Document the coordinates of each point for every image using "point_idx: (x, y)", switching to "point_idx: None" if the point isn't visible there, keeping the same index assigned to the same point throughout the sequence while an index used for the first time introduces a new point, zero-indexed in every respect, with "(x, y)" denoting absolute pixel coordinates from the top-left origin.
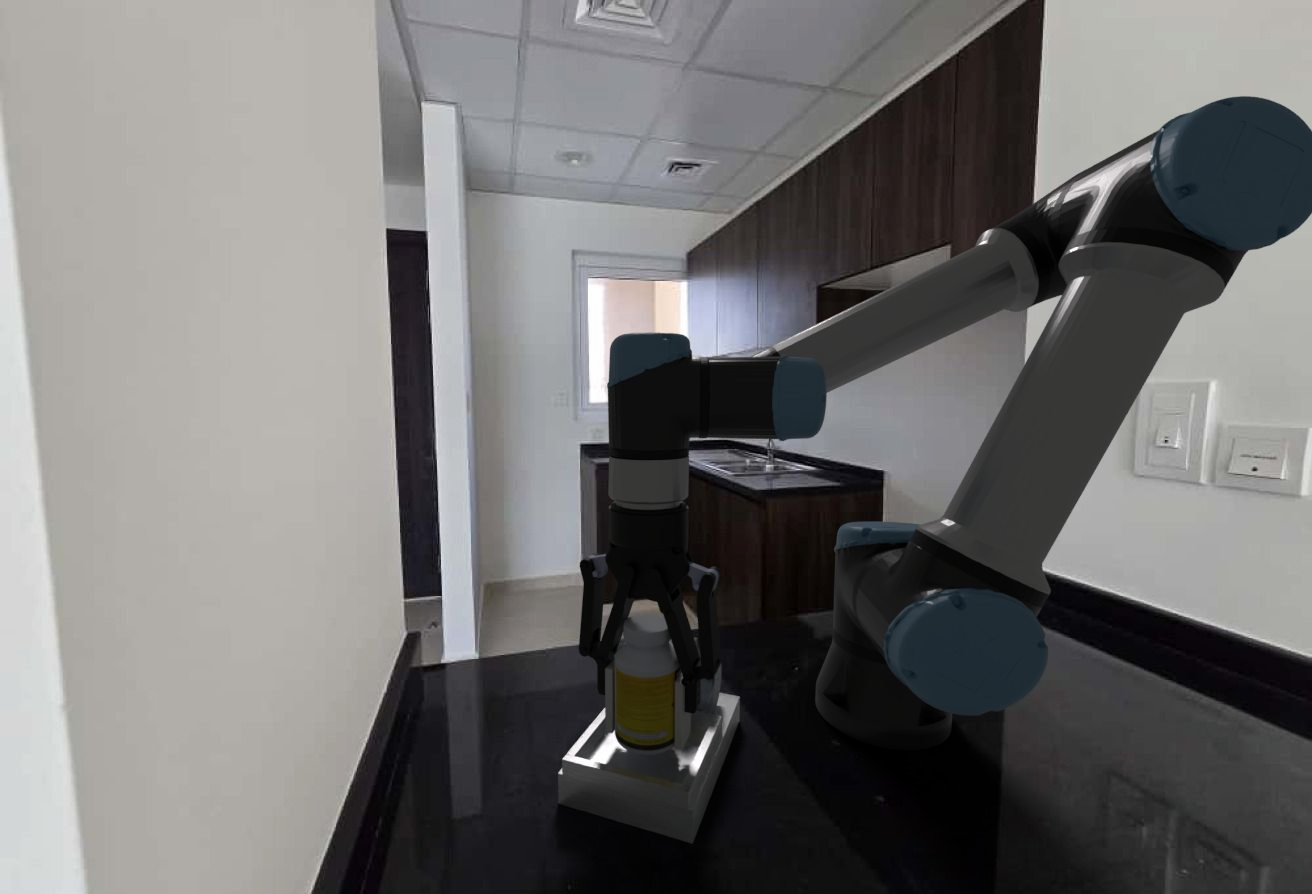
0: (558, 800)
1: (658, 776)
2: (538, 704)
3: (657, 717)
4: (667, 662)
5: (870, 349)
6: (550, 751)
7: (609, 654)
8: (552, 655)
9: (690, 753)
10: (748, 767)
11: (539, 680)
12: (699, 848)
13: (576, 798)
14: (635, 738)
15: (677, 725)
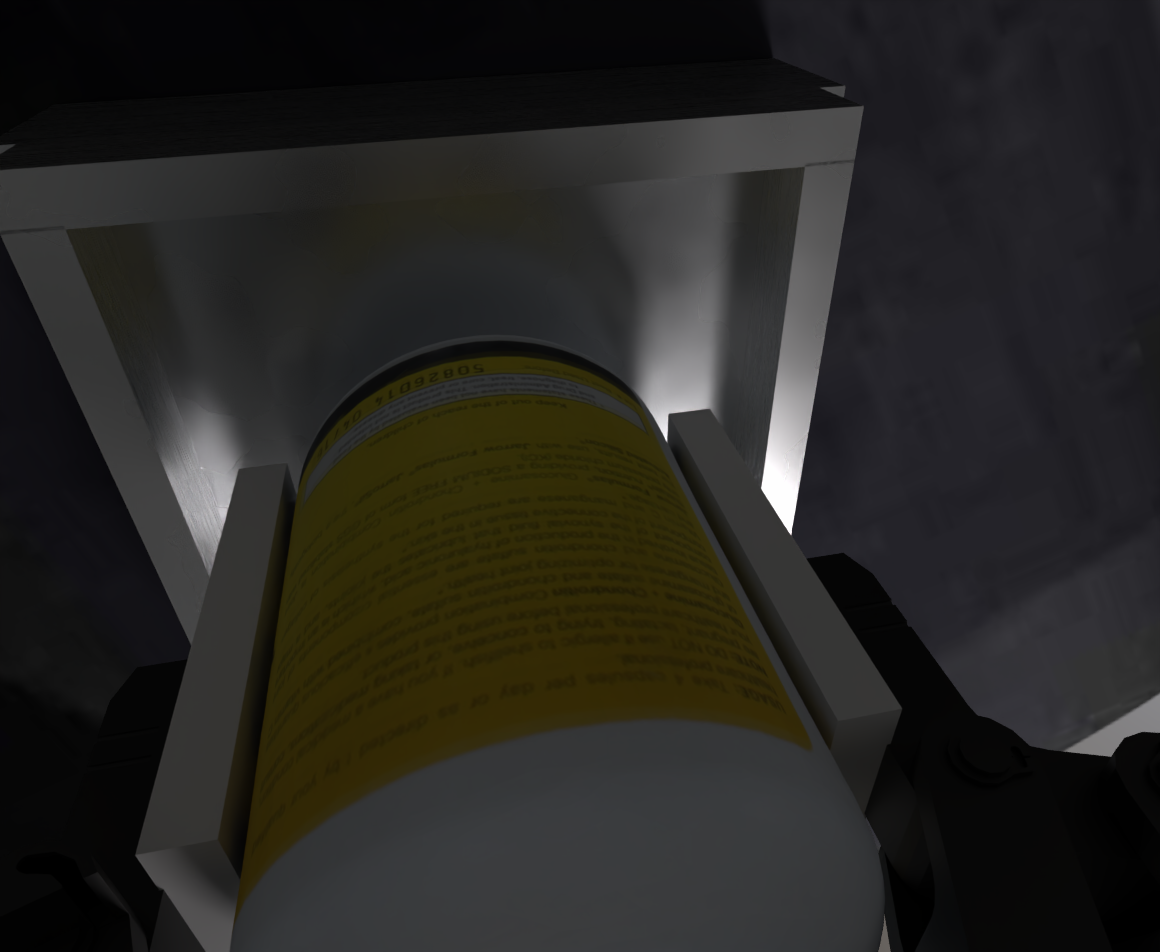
0: (779, 60)
1: (329, 307)
2: (1046, 523)
3: (339, 525)
4: None
5: None
6: (920, 332)
7: (935, 845)
8: (1065, 726)
9: None
10: (135, 601)
11: (1076, 619)
12: (7, 92)
13: (696, 73)
14: (476, 374)
15: (246, 557)
